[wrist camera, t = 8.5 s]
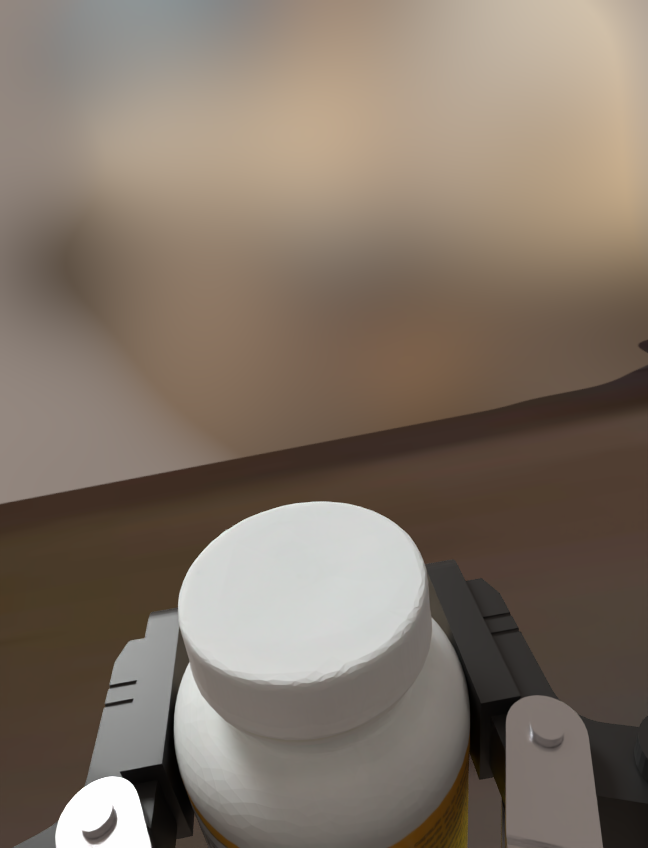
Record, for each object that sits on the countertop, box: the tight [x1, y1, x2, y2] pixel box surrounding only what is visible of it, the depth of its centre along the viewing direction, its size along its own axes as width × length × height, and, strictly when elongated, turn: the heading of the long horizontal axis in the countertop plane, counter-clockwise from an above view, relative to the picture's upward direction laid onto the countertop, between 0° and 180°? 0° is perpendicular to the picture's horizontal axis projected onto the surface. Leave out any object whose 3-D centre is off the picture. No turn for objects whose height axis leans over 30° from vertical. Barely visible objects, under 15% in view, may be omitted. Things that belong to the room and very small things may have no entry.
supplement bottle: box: [174, 502, 470, 848], centre depth 11 cm, size 5×5×10 cm
